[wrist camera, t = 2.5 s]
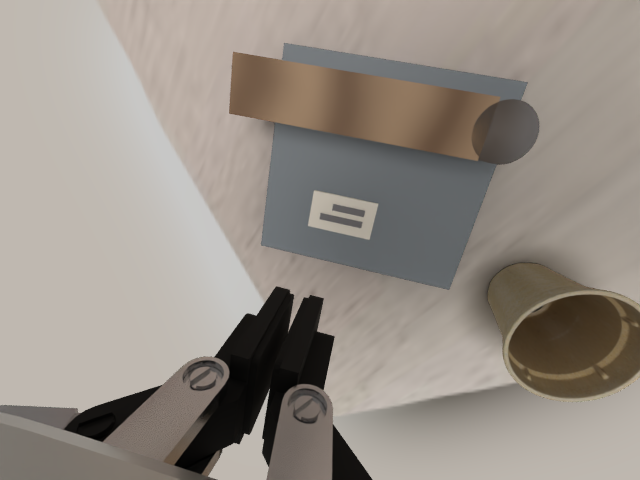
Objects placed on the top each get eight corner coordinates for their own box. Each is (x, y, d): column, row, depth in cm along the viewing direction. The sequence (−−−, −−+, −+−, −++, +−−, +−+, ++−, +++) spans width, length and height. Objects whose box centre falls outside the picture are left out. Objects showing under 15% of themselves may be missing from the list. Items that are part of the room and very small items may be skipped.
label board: (518, 85, 24) (541, 77, 21) (445, 282, 30) (454, 300, 27) (289, 47, 26) (276, 35, 23) (266, 240, 32) (253, 252, 29)
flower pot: (602, 269, 27) (697, 326, 19) (538, 346, 31) (596, 421, 23) (503, 230, 28) (556, 269, 20) (452, 310, 31) (478, 371, 23)
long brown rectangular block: (531, 108, 21) (550, 105, 19) (508, 166, 22) (523, 169, 20) (247, 60, 23) (233, 51, 21) (243, 115, 25) (229, 113, 22)
